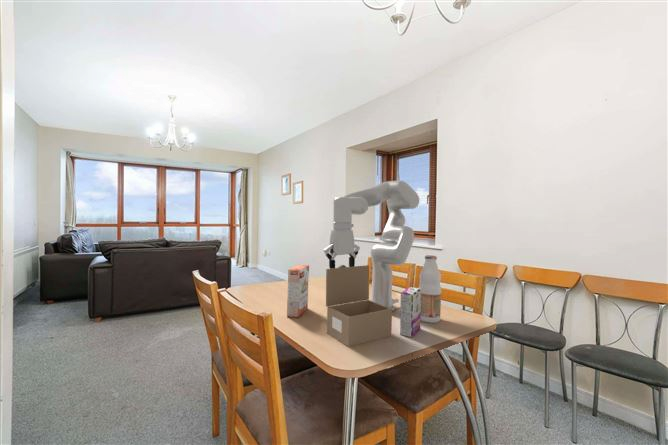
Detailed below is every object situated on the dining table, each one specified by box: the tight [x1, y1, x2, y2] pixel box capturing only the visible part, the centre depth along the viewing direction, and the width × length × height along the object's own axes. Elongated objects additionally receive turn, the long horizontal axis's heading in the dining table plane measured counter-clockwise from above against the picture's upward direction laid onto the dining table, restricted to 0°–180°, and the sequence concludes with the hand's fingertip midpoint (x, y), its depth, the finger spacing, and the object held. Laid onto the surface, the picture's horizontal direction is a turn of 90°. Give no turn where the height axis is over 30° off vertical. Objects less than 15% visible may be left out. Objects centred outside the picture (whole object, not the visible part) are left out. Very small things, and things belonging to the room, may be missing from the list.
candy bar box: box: [399, 286, 422, 338], centre depth 118 cm, size 11×5×16 cm, turn 148°
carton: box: [326, 299, 393, 348], centre depth 115 cm, size 20×14×10 cm
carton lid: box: [325, 264, 370, 307], centre depth 123 cm, size 20×14×7 cm
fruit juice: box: [418, 254, 442, 324], centre depth 133 cm, size 9×9×28 cm
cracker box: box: [286, 264, 310, 318], centre depth 138 cm, size 14×6×21 cm, turn 168°
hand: (342, 268), depth 125 cm, fingers open, 9 cm apart
